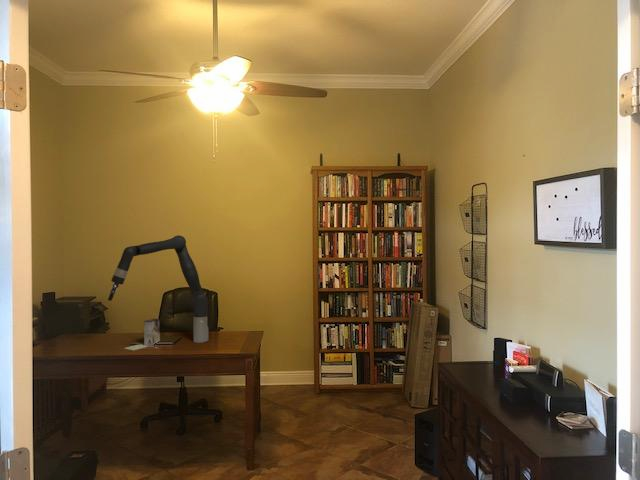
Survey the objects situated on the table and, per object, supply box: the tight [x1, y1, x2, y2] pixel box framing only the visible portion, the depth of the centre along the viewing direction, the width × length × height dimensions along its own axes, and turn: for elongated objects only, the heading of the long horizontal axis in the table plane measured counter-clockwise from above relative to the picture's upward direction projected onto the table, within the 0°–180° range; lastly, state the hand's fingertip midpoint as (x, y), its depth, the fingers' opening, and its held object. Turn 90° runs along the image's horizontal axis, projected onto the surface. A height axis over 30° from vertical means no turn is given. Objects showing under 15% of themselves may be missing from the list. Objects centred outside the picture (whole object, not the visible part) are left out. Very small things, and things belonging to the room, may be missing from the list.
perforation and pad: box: [124, 344, 158, 351], centre depth 297 cm, size 13×16×1 cm
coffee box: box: [143, 318, 161, 346], centre depth 309 cm, size 9×6×16 cm
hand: (110, 299), depth 297 cm, fingers open, 8 cm apart
